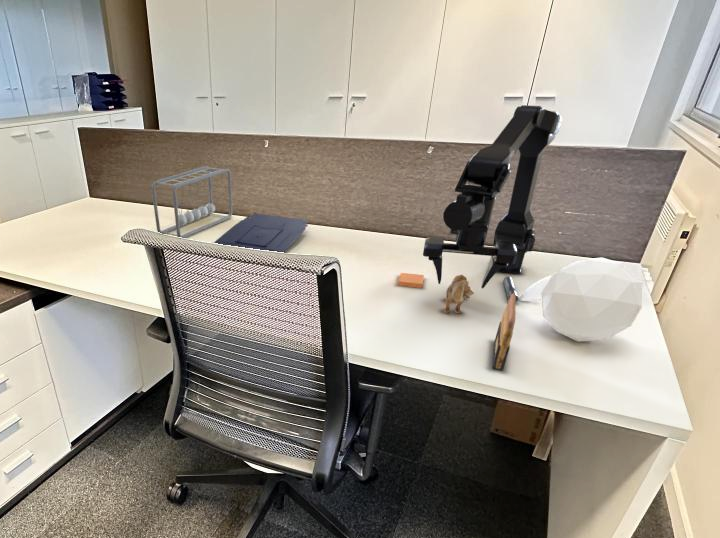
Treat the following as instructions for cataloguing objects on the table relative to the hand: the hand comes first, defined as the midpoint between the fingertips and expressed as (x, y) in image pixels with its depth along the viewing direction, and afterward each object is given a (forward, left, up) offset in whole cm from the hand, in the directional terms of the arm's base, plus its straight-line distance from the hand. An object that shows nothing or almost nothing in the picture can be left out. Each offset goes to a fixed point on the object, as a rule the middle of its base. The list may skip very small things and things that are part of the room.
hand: (460, 285), depth 113 cm
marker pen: (-12, -12, -6) cm, 18 cm away
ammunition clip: (-8, +20, -6) cm, 22 cm away
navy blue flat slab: (+59, -32, -6) cm, 67 cm away
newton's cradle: (+87, -42, -6) cm, 97 cm away
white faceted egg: (-23, +1, -6) cm, 24 cm away
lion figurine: (0, 0, -6) cm, 6 cm away
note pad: (+11, -12, -6) cm, 17 cm away
